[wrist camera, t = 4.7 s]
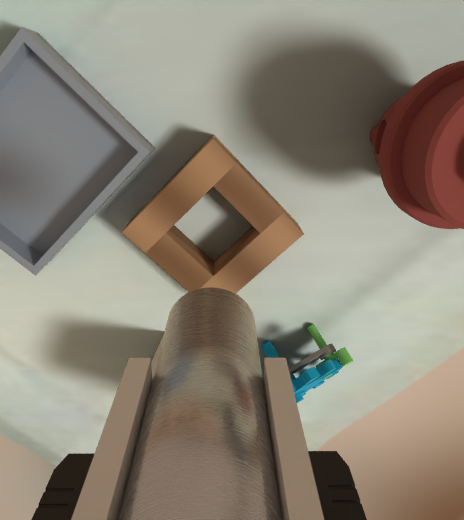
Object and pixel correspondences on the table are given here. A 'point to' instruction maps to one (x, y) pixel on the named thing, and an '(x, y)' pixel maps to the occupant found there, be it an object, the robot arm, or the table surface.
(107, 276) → the table surface
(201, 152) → the socket
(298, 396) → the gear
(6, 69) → the tray
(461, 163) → the mechanical component
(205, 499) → the pin
